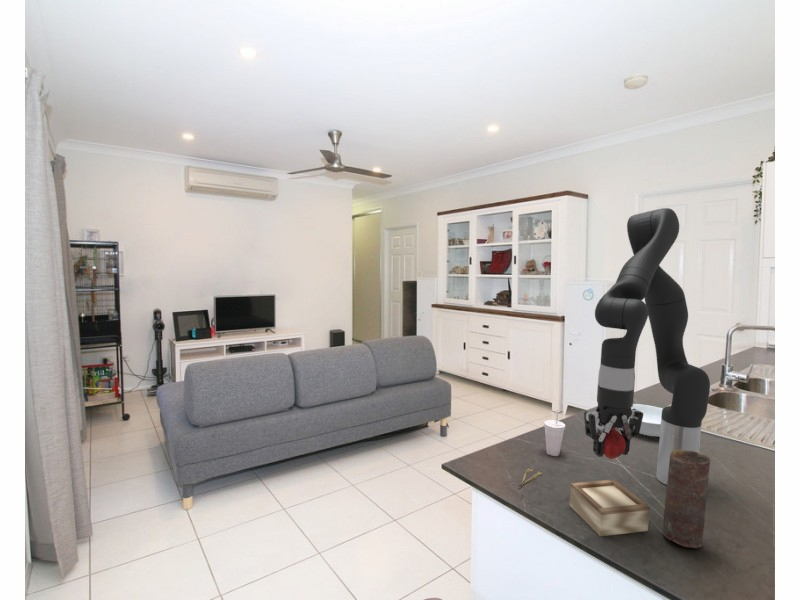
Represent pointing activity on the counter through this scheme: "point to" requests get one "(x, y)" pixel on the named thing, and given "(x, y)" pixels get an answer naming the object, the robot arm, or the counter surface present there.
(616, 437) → the pomegranate
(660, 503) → the counter surface
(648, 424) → the serving bowl
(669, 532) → the rusty metal cylinder
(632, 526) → the pedestal
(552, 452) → the smoothie
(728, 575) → the counter surface
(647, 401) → the counter surface
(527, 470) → the tongs
